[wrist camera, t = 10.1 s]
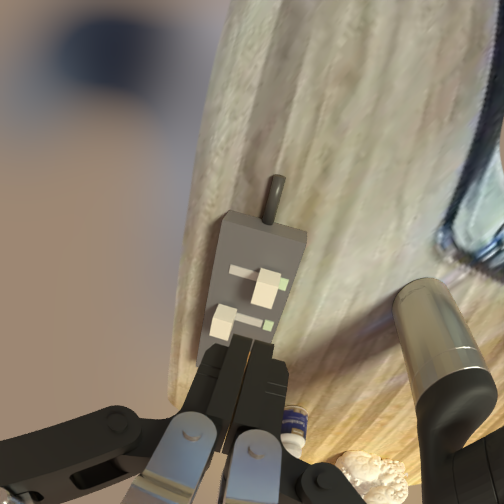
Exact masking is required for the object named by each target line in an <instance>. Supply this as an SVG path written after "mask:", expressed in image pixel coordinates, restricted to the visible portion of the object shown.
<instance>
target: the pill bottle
mask: <svg viewBox="0 0 504 504" xmlns="http://www.w3.org/2000/svg"><path fill="white" fill-rule="evenodd" d="M307 421H308V413H307V411H306V410H305V409H304V408H302V407H299V406H286V407H284V414H283V420H282V427H281V441H282V444H283V446H284V447H285V449H286V450H287V451H288V452H289V453H290V454H291V455H293V456H294V457H296V458H298V459H299V458H300V457H301V453H302V450H301V448H302V447H303V446H304V445H305V441H306V431H307Z"/></svg>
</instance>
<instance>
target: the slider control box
mask: <svg viewBox="0 0 504 504" xmlns="http://www.w3.org/2000/svg"><path fill="white" fill-rule="evenodd" d="M285 179H286V177H284V176H282V175H277V174H275V175H274V177H273V181H272V185H271V188H270V192H269V196H268V200H267V204H266V208H265V211H264V215H263V219H260V218H257V217H253V216H250V215H246V214H243V213H239V212H235V211H232V210H229V211H228V213H227V214H226V216H225V217H224V218H223V220H222V224H221V229H220V234H219V239H218V244H217V249H216V255H215V260H214V265H213V270H212V276H211V281H210V286H209V292H208V297H207V303H206V309H205V314H204V320H203V326H202V331H201V337H200V343H199V349H198V355H197V361H196V367H199V366H200V364H201V361H202V358H203V356H204V354H205V351H206V350H207V349H209V348H210V347H211V346H212V345H213V344H215V343H217V344H221V345H224V346H227V347H229V345H230V342H231V339H232V336H233V334H238V335H241V336H245V337H249V338H252V339H253V341H252V345H251V348H250V352H251V349H252V346H253V343H254V340H255V339H256V340H260V341H263V342H267V343H271V342H272V339H273V336H274V334H275V331H276V328H277V326H278V323H279V320H280V318H281V315H282V312H283V309H284V307H285V304H286V301H287V298H288V296H289V293H290V290H291V287H292V284H293V281H294V279H295V276H296V273H297V270H298V267H299V264H300V261H301V258H302V255H303V253H304V250H305V247H306V243H307V232H306V231H302V230H299V229H295V228H292V227H289V226H285V225H282V224H278V223H275V222H274V219H275V216H276V212H277V208H278V205H279V201H280V197H281V194H282V190H283V186H284V183H285ZM261 268H263V269H267V270H270V271H274V272H277V273H281V278H280V283H279V288H278V291H277V294H276V297H275V300H274V303H273V306H272V309H269V308H265V307H262V306H258V305H255V304H252V303H251V300H252V297H253V293H254V290H255V286H256V282H257V279H258V276H259V273H260V270H261ZM219 304H222V305H226V306H229V307H232V308H236V309H237V312H236V316H235V320H234V324H233V328H232V330H231V333H230V336H229V339H228V341H226V340H223V339H220V338H216V337H213V336H210V335H209V334H210V329H211V324H212V319H213V316H214V314H215V311H216V309H217V307H218V305H219Z"/></svg>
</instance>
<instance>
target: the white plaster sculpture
mask: <svg viewBox="0 0 504 504" xmlns="http://www.w3.org/2000/svg"><path fill="white" fill-rule="evenodd" d="M380 459H381V457H380V456H376V454H373V453H372V454H369V453H367V452H364V451H346V452H344V454H343V455H342V456H340V457H339V458H338V459H337V461H336V464H335V466H336V467H337V468H339V469H340V470H341V471H342V473H343V474H344V475H345V476H346V478H347V479H348V480H349V482H350V483H351V484H352V486H353V487H354V488H355V489H356V491H357V492H358V493H359V494H360V496H361V497H362V498H363V499H364V501H365V502H366V503H367V504H401V503H402V502H403V501H404V500H405V499H406V498H407V495H408V484H407V481H406V480H405V479H404V478H403V477H404V476H407V477H408V473H405V474H404V473H403V472H404V471H405V466H404V463H402V462H399V461H397V460H395V461H392V460H391V459H383V460H380Z"/></svg>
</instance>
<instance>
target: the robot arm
mask: <svg viewBox="0 0 504 504" xmlns="http://www.w3.org/2000/svg"><path fill="white" fill-rule="evenodd" d="M392 314H393V318H394V322H395V325H396V329H397V333H398V337H399V341H400V345H401V348H402V352H403V356H404V361H405V365H406V369H407V373H408V378H409V382H410V387H411V391H412V395H413V400H414V405H415V411H416V416H417V433H418V440H419V448H420V459H421V481H422V503H423V504H504V426H503V427H501V428H499V429H497V430H496V431H494V432H492V433H490V434H488V435H486V436H485V437H483V438H481V439H479V440H477V441H476V442H474V443H472V444H470V445H468V446H466V447H464V448H463V446H464V444H465V443H466V441H467V440H468V439H469V437H470V436H471V435H472V434H473V433H474V432H475V430H476V429H477V428H478V427H479V426H480V425H481V424H482V423H483V422H484V421H485V420H486V419H487V418H488V416H489V415H490V414H491V412H492V411H493V409H494V407H495V405H496V402H497V398H498V394H497V388H496V385H495V382H494V380H493V378H492V376H491V373H490V371H489V369H488V366H487V364H486V362H485V360H484V358H483V356H482V354H481V351H480V349H479V347H478V345H477V343H476V341H475V339H474V337H473V335H472V333H471V331H470V329H469V327H468V325H467V323H466V321H465V319H464V317H463V315H462V313H461V312H460V310H459V308H458V306H457V304H456V302H455V300H454V299H453V297H452V295H451V293H450V292H449V290H448V288H447V286H446V285H445V284H444V283H443V282H441V281H439V280H437V279H434V278H422V279H418V280H415V281H413V282H411V283H410V284H408V285H407V286H405V287H404V288H403V289H402V290H401V291H400V292H399V293H398V295H397V296H396V298H395V300H394V303H393V307H392ZM252 341H253V339H252V338H249V337H245V336H241V335H238V334H233V336H232V339H231V342H230V345H229V347H227V346H224V345H221V344H217V343H215V344H213V345H212V346H211V347H210V348H209V349H207V350H206V351H205V354H204V356H203V358H202V361H201V364H200V366H199V368H198V370H197V373H196V375H195V378H194V380H193V382H192V385H191V387H190V390H189V392H188V394H187V397H186V399H185V402H184V404H183V406H182V408H181V410H180V411H179V412H178V413H177V414H176V415H174V416H172V417H170V418H166V419H159V420H158V419H156V420H155V419H144V418H139V417H138V416H137V414H136V413H135V412H134V411H132V410H131V409H129V408H127V407H124V406H118V405H117V406H116V405H115V406H109V407H106V408H103V409H101V410H98V411H95V412H92V413H90V414H87V415H84V416H81V417H78V418H75V419H72V420H69V421H66V422H64V423H60V424H57V425H54V426H51V427H48V428H44V429H42V430H38V431H35V432H31V433H28V434H24V435H21V436H17V437H14V438H10V439H6V440H3V441H0V504H60V503H64V502H67V501H70V500H73V499H76V498H79V497H82V496H84V495H87V494H90V493H93V492H95V491H98V490H101V489H103V488H106V487H108V486H111V485H113V484H116V483H118V482H120V481H123V480H125V479H128V478H130V477H132V476H135V475H137V474H139V473H140V475H138V476H137V477H136V478H135V480H134V481H133V482H132V484H131V486H130V488H129V489H128V491H127V493H126V495H125V497H124V498H123V500H122V502H121V504H192V503H193V500H194V498H195V496H196V493H197V491H198V489H199V486H200V484H201V481H202V479H203V477H204V474H205V472H206V470H207V469H208V468H209V466H210V463H211V460H212V457H213V454H214V451H216V452H220V450H221V447H222V445H223V442H224V439H225V436H226V433H227V436H226V439H225V443H224V447H223V450H222V453H223V454H227V455H228V456H227V459H226V463H225V467H224V469H223V472H222V475H221V480H220V486H219V491H218V497H217V502H216V504H367V503H366V502H365V501H364V499H363V498H362V497H361V496H360V494H359V493H358V492H357V491H356V489H355V488H354V487H353V486H352V484H351V483H350V482H349V480H348V479H347V478H346V476H345V475H344V474H343V473H342V471H341V470H340V469H339V468H337V467H336V466H334V465H332V464H330V463H324V462H321V463H315V464H313V465H310V464H308V463H306V462H304V461H302V460H300V459H298V458H296V457H294V456H293V455H291V454H290V453H289V452H288V451H287V450H286V449H285V447H284V446H283V444H282V441H281V427H282V420H283V414H284V407H285V399H286V398H285V397H286V392H287V385H288V377H289V373H288V370H287V367H286V364H285V362H283V361H279V360H275V359H272V355H273V350H274V344H271V343H267V342H263V341H260V340H256V339H255V340H254V343H253V346H252V349H251V352H250V348H251V345H252ZM249 352H250V355H249ZM248 356H249V358H248ZM247 360H248V362H247ZM246 363H247V365H246ZM245 367H246V368H245ZM228 428H229V429H228ZM227 430H228V432H227Z"/></svg>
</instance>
